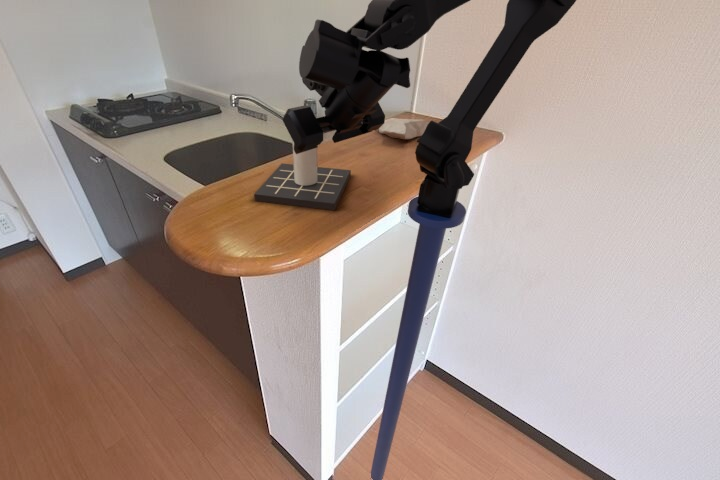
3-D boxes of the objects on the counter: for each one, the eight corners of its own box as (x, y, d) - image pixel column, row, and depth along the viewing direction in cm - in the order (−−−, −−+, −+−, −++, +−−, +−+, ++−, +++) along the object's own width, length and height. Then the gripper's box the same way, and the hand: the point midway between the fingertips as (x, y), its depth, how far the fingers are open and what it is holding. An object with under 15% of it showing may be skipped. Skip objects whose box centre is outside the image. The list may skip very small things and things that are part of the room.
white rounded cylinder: (321, 178, 73) (321, 112, 65) (310, 187, 70) (309, 119, 62) (301, 174, 75) (299, 109, 67) (289, 182, 72) (285, 115, 64)
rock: (353, 139, 98) (401, 146, 89) (353, 122, 96) (402, 127, 87) (393, 128, 112) (438, 132, 103) (394, 112, 109) (440, 115, 101)
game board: (350, 176, 78) (350, 169, 77) (334, 210, 66) (334, 203, 65) (282, 169, 81) (281, 162, 80) (254, 200, 69) (253, 193, 68)
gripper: (379, 38, 57) (332, 99, 70) (285, 47, 48) (252, 116, 61) (410, 99, 57) (358, 149, 71) (323, 121, 48) (281, 173, 61)
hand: (315, 145), depth 66 cm, fingers open, 9 cm apart
